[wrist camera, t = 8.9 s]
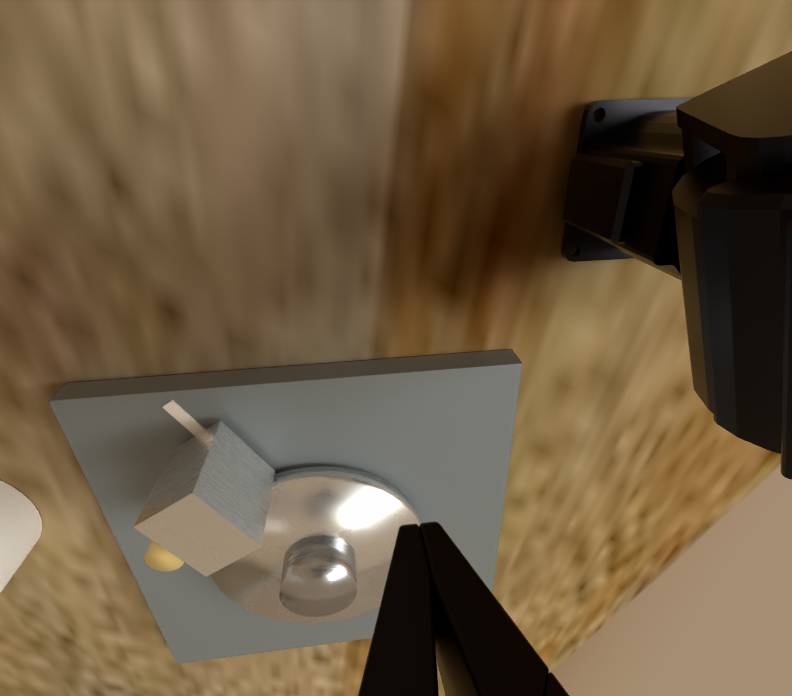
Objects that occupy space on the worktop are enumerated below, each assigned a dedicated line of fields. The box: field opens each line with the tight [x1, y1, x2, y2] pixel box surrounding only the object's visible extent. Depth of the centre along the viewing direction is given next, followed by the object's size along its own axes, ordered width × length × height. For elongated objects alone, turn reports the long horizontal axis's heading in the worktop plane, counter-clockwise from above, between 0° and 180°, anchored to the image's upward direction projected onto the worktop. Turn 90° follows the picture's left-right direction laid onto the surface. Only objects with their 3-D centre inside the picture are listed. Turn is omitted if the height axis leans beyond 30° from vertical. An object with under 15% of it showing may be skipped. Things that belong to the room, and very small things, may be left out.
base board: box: [48, 349, 522, 664], centre depth 24 cm, size 22×22×6 cm
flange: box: [134, 421, 421, 623], centre depth 23 cm, size 12×15×4 cm
